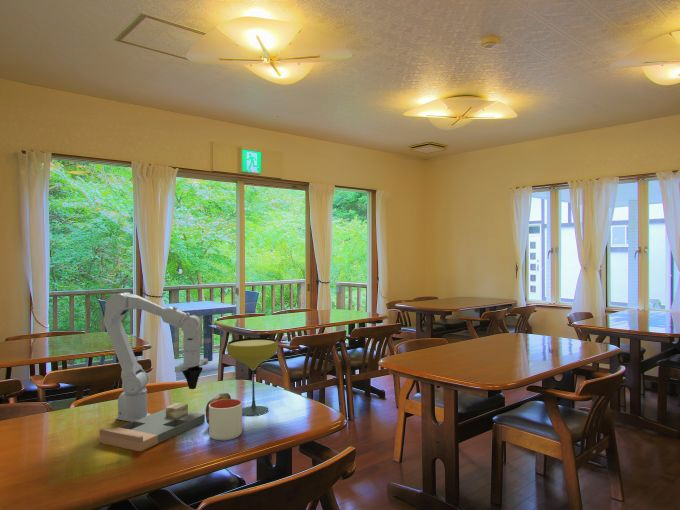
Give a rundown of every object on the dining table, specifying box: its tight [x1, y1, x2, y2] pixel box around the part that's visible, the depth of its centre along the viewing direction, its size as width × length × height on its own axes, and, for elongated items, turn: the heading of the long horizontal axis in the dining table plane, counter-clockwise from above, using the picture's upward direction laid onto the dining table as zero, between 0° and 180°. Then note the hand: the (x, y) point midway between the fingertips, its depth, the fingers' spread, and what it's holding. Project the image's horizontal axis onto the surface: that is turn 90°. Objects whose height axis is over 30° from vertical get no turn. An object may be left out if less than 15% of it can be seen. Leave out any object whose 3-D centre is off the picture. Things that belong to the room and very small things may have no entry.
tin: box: [205, 392, 232, 425], centre depth 160 cm, size 15×3×8 cm, turn 168°
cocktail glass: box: [226, 337, 279, 417], centre depth 170 cm, size 18×18×25 cm
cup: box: [208, 398, 243, 442], centre depth 146 cm, size 10×10×10 cm
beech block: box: [165, 402, 189, 418], centre depth 159 cm, size 4×6×3 cm
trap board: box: [99, 408, 206, 452], centre depth 151 cm, size 17×27×4 cm, turn 155°
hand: (192, 388), depth 166 cm, fingers closed
